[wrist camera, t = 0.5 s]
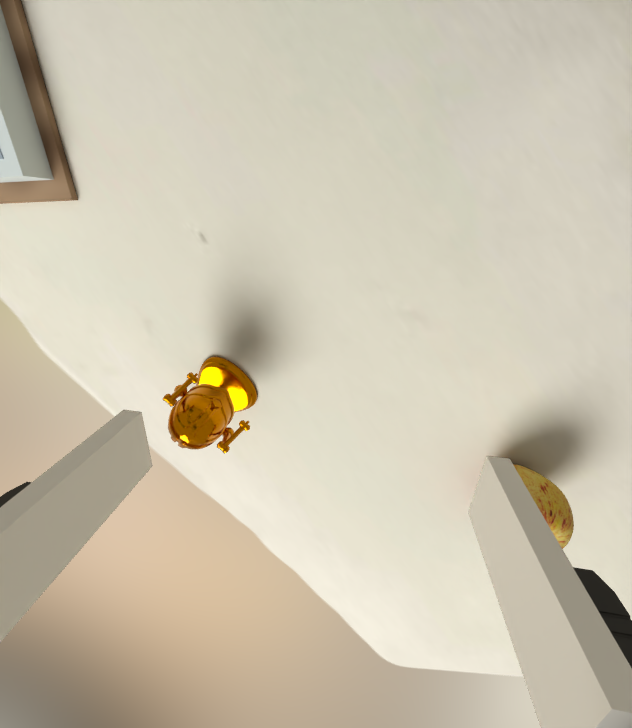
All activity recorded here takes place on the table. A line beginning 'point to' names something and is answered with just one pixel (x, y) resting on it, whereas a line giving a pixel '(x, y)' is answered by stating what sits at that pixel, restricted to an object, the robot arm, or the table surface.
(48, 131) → the backing board
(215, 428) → the figurine
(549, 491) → the apple
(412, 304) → the table surface
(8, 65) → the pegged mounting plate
